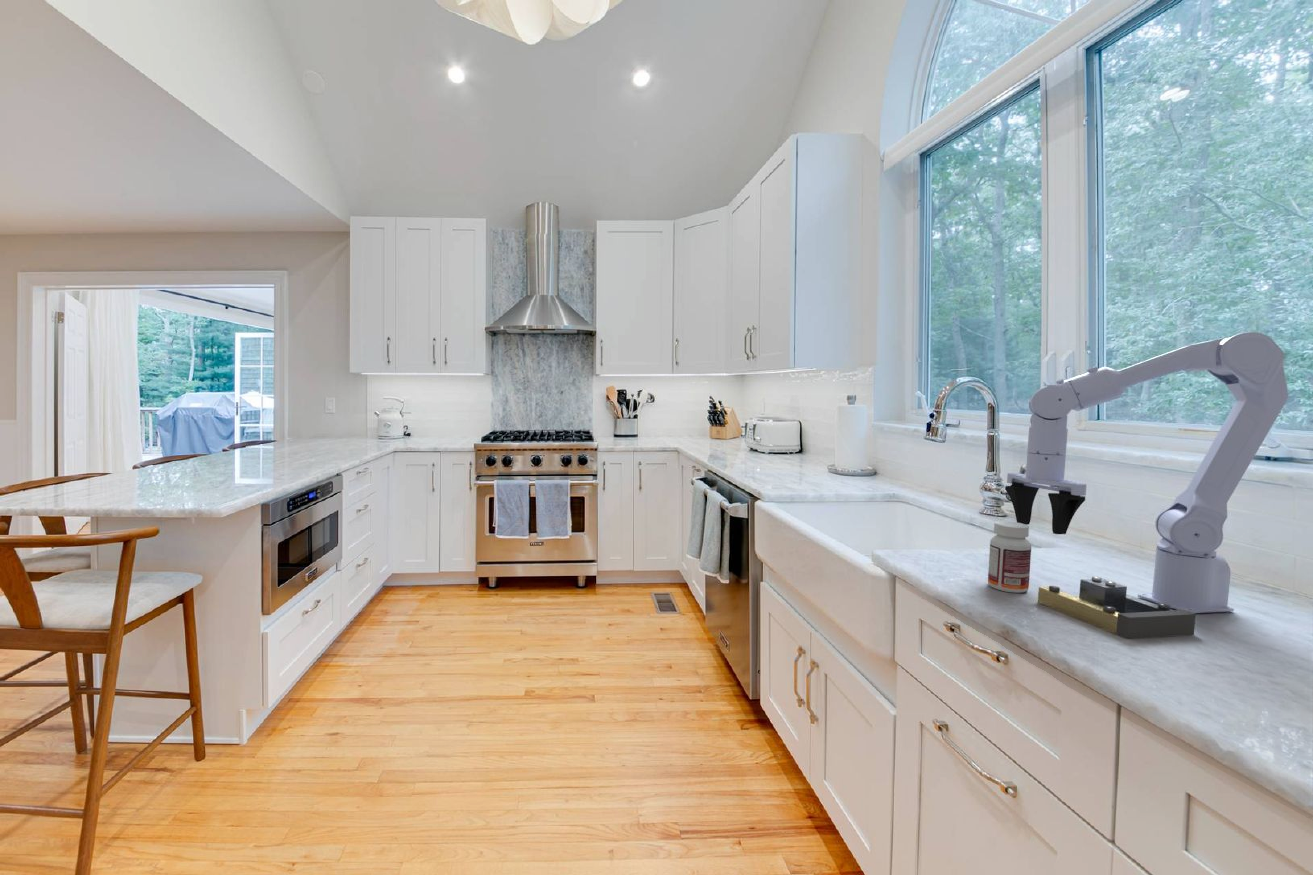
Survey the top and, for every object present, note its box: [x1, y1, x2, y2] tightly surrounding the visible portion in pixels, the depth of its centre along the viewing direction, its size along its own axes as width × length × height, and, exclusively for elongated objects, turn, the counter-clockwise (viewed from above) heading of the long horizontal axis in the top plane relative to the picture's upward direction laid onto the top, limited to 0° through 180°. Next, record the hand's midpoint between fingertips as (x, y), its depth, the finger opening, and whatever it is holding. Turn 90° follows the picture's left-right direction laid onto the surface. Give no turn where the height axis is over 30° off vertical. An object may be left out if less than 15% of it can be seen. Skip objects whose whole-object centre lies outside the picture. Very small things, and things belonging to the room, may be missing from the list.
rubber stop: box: [1115, 609, 1197, 640], centre depth 81 cm, size 12×2×3 cm, turn 102°
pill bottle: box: [987, 520, 1032, 594], centre depth 100 cm, size 6×6×11 cm
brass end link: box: [1037, 585, 1118, 635], centre depth 87 cm, size 2×13×3 cm, turn 12°
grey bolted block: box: [1078, 576, 1128, 613], centre depth 89 cm, size 4×4×6 cm
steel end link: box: [1125, 593, 1175, 613], centre depth 89 cm, size 2×13×3 cm, turn 12°
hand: (1040, 528), depth 103 cm, fingers open, 7 cm apart
